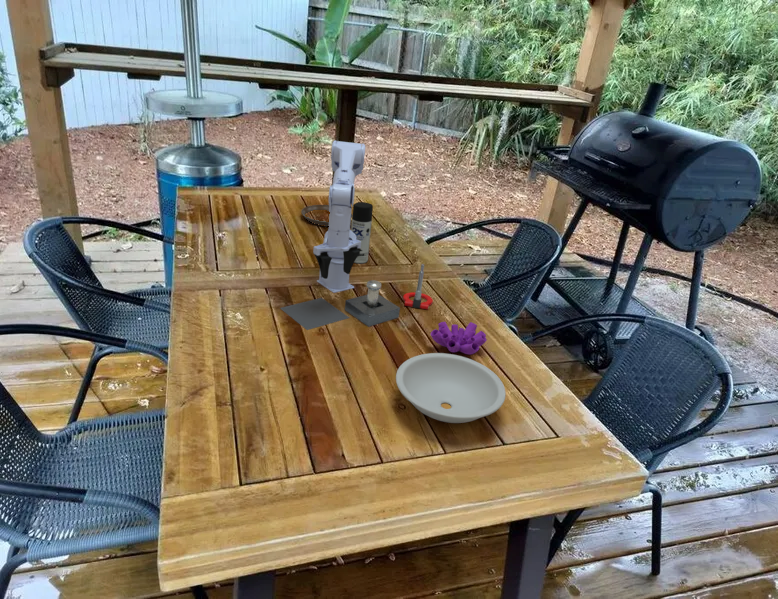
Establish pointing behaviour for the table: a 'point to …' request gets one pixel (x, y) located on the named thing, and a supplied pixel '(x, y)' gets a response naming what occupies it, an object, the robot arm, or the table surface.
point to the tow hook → (418, 295)
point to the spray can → (362, 228)
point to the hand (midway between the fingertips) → (335, 275)
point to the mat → (314, 313)
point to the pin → (373, 293)
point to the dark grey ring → (316, 207)
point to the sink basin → (450, 387)
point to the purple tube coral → (459, 338)
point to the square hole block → (372, 310)
